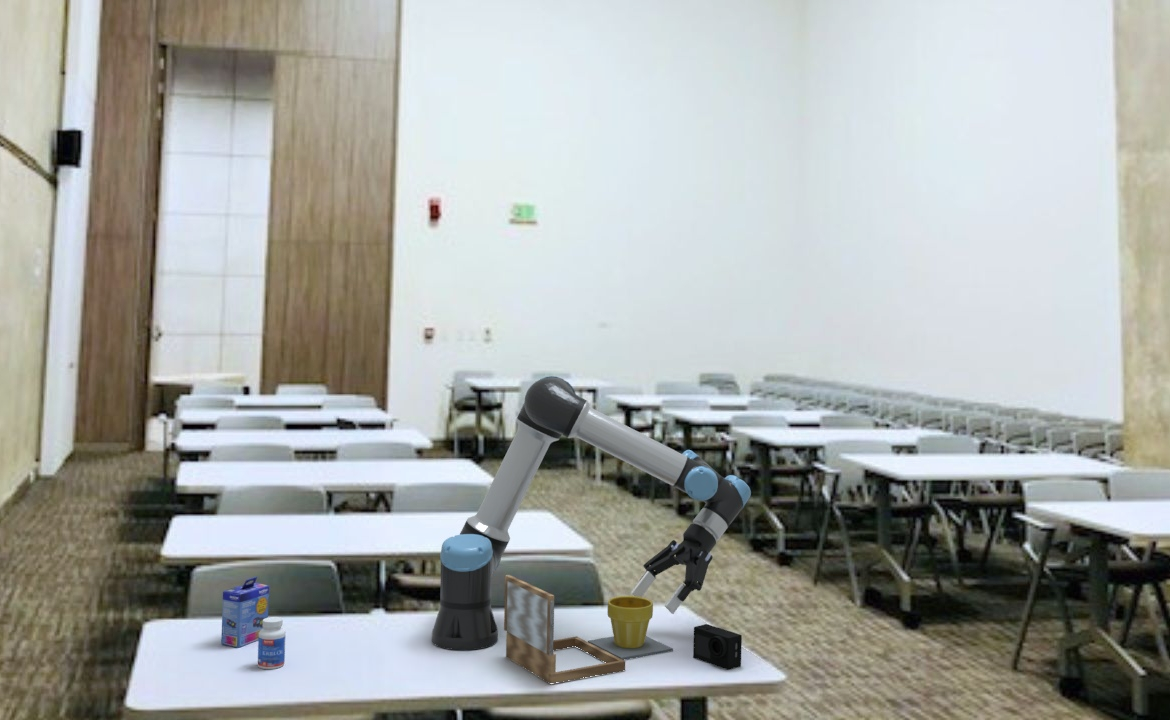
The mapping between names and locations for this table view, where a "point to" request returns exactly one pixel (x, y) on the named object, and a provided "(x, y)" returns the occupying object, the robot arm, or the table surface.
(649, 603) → the plant pot
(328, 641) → the table surface
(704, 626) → the digital camera
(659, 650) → the mat
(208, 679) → the table surface
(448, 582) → the robot arm
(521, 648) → the cold frame
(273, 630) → the pill bottle
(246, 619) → the ink cartridge box
